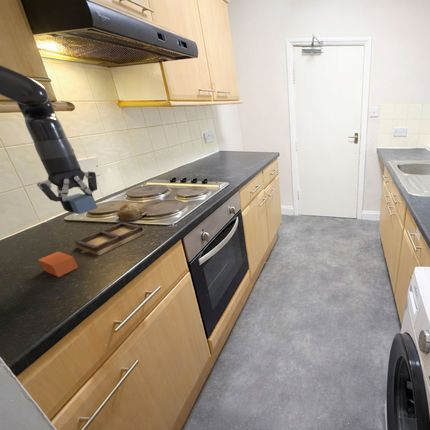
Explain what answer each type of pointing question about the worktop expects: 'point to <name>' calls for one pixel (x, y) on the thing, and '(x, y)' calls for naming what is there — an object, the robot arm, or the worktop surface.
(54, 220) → the worktop surface
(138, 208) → the bread roll
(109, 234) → the brown wooden tray
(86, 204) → the blue bevelled block
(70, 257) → the terracotta pad
